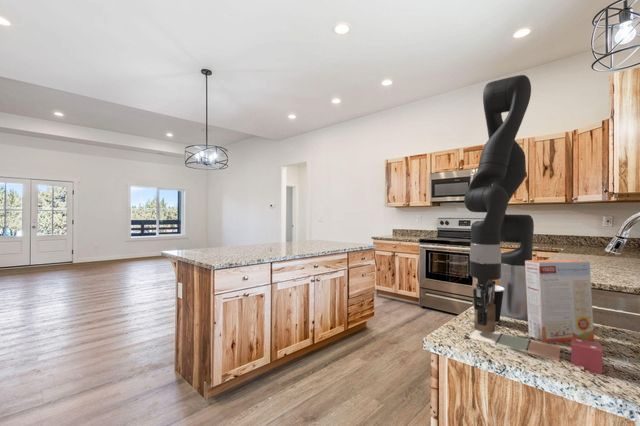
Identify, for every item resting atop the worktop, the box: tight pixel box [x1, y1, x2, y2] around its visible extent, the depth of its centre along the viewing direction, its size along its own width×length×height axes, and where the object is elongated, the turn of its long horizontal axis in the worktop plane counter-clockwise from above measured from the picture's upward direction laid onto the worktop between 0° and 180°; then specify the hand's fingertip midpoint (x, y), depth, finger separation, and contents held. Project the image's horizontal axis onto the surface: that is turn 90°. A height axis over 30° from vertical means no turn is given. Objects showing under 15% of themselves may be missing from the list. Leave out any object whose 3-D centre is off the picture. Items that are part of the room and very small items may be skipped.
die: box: [570, 337, 603, 375], centre depth 67 cm, size 5×5×5 cm
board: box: [468, 329, 562, 361], centre depth 77 cm, size 11×20×1 cm, turn 50°
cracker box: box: [525, 259, 595, 343], centre depth 81 cm, size 14×6×21 cm, turn 92°
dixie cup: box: [493, 284, 505, 325], centre depth 92 cm, size 8×8×11 cm
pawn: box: [473, 294, 496, 333], centre depth 82 cm, size 5×5×10 cm
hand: (484, 321), depth 82 cm, fingers closed on pawn, 5 cm apart
